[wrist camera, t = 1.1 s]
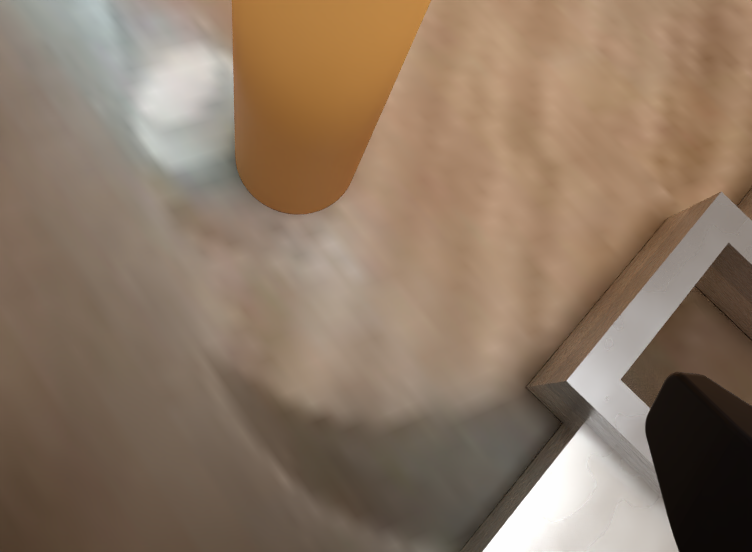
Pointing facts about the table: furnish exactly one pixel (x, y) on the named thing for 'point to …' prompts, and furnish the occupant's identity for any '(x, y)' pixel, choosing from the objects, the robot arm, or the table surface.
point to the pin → (312, 91)
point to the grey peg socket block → (619, 395)
